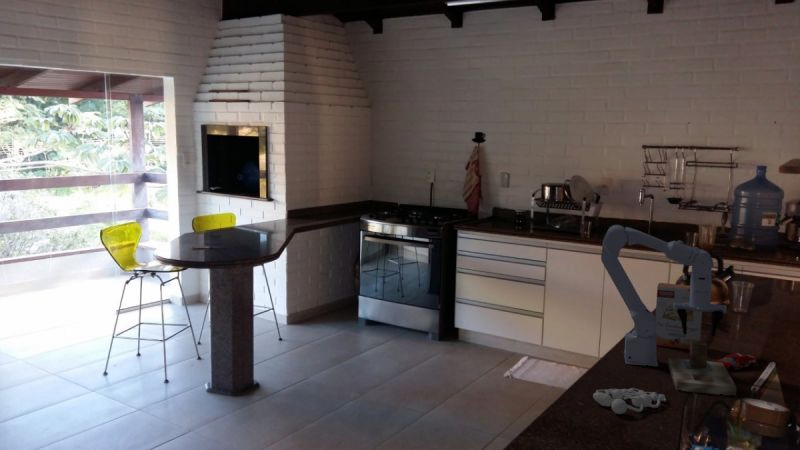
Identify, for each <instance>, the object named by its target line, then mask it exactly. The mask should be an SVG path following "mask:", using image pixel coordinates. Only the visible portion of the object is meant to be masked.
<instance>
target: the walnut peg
mask: <svg viewBox="0 0 800 450" xmlns="http://www.w3.org/2000/svg"><path fill="white" fill-rule="evenodd" d="M708 346H709V345H708V343H707V342H706V340H700V341H696V340H691V342H690V350H689V360H690V361H689V363H690V365H691V367H696V368H706V364H707V361H708Z"/></svg>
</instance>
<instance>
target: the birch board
mask: <svg viewBox="0 0 800 450" xmlns="http://www.w3.org/2000/svg"><path fill="white" fill-rule="evenodd" d="M689 361H690V359H683V358H671V357H670V358H668V363H667V366H668V367H667V368H668V370H669V372H670V376H671V379H672V382H673V385H674V387H675V390H676V391H678V390H681V391H680V392H689V393H690V392H691V393H701V394H710V395H711V394H712V395H720V394H723V395H722V396H730V395H735V396H734V397H736V396H737V388H738V387H737V385H736V383H735V382H734V380H733V378H732V377H731V375H730V374H729V371H728V370H726V368H725V366H724V365H723V363H721V362H716V361H708V360H707V364H706V368H696V367H691V365H690V363H689Z"/></svg>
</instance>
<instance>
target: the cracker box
mask: <svg viewBox="0 0 800 450" xmlns="http://www.w3.org/2000/svg"><path fill="white" fill-rule="evenodd" d="M656 289H657V290H656V301H655V302H656V303H655V305H656V306H655V318H656V322H655V323H656V331H655V332H656V333H657V346H658V347H659V346H660V347H664V348H665V347H666V348H674V349H680V350H686V349H688V351H690V342H691V340H696V341H701V331H702V321H703V320H702V317H703V311H686V312H687V323H686V327H687V334H686V335H685V334H683V327H682V323H681V320H680V317H679V314H678V312H677V311H674V309H673V303H689V302H690V285H686V284H674V283H667V282H666V283H665V282H658V285H657V287H656Z"/></svg>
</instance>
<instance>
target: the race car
mask: <svg viewBox="0 0 800 450" xmlns="http://www.w3.org/2000/svg"><path fill="white" fill-rule="evenodd" d="M724 356H725V357H723V358H722V357H721V358H719V359H717V360H716V361H715V362H721V363H723V365H724V366H725V368H726V370H727V372H734V371H737V370H745V369H753V368H756V367H757V366H758V361H757V360H758V359H757V357H755V356H753V355H751V354H744V353H742V352H734V353H732V354H728V355H724Z"/></svg>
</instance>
